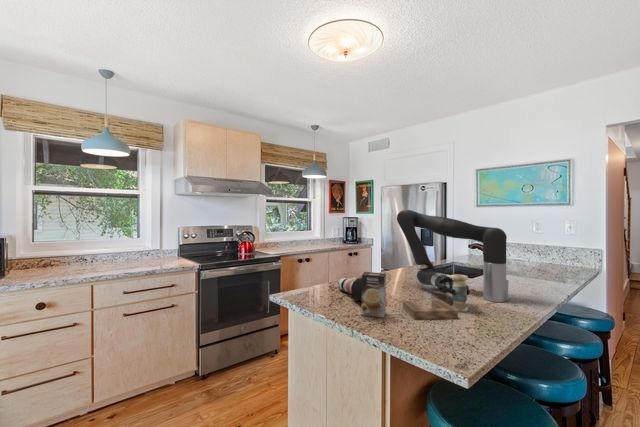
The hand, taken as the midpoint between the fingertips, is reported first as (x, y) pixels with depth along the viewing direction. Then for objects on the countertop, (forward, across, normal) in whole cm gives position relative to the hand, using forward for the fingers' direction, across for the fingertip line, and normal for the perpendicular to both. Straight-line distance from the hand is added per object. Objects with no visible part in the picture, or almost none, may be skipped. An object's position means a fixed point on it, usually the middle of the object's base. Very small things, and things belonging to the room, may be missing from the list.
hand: (461, 292), depth 123 cm
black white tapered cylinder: (-25, -40, +8) cm, 48 cm away
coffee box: (+1, -37, +8) cm, 38 cm away
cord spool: (-2, 0, +8) cm, 8 cm away
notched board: (+1, -15, +8) cm, 16 cm away
